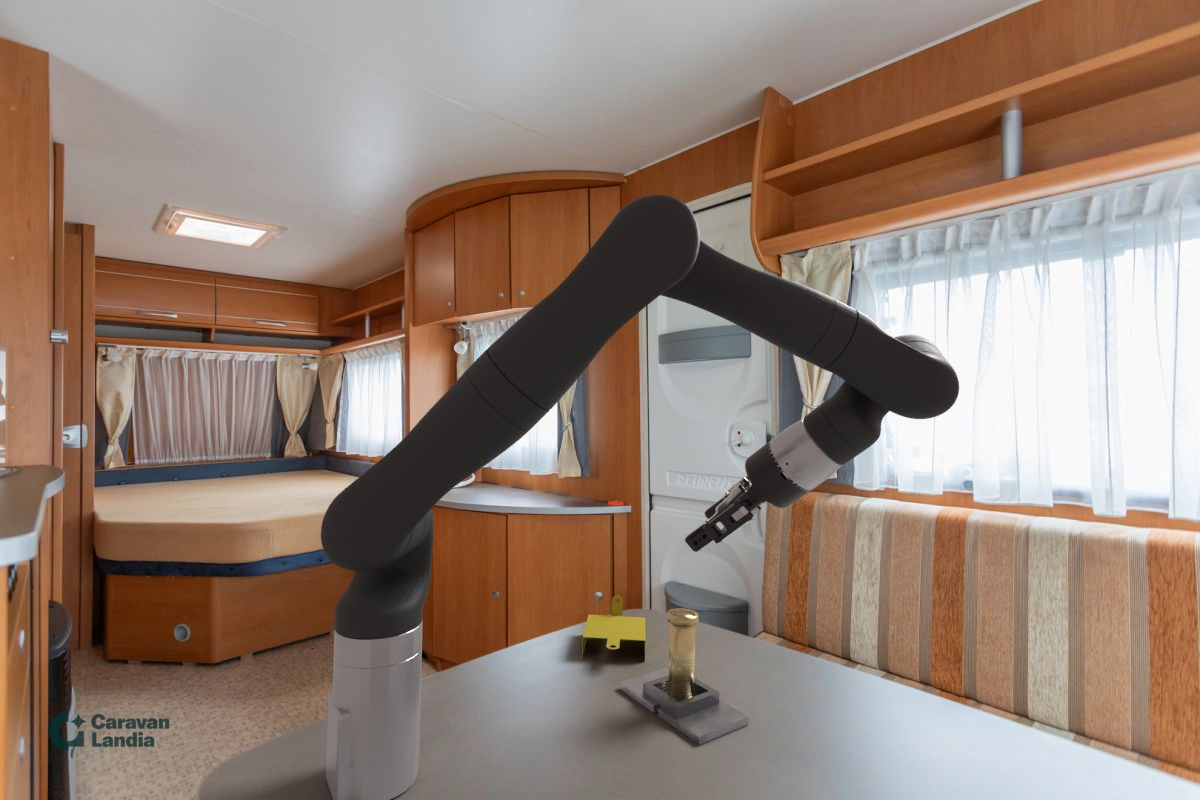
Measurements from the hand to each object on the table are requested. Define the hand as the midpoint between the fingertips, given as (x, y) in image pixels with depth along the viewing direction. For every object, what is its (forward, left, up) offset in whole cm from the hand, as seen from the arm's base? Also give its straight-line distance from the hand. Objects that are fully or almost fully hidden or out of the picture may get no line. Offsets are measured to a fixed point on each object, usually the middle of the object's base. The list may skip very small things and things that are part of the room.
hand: (700, 531), depth 78 cm
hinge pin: (+1, +4, -25) cm, 25 cm away
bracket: (+4, +24, -26) cm, 36 cm away
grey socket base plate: (+1, +4, -26) cm, 26 cm away
